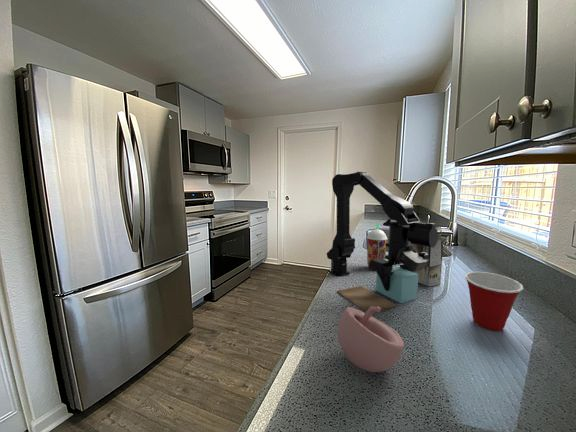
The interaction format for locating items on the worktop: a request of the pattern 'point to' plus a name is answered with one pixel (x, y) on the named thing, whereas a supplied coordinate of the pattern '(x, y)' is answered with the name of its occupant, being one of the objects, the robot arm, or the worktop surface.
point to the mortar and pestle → (368, 340)
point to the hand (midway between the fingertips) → (395, 288)
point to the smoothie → (376, 245)
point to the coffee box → (430, 264)
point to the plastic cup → (491, 298)
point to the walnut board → (365, 298)
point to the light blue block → (400, 285)
